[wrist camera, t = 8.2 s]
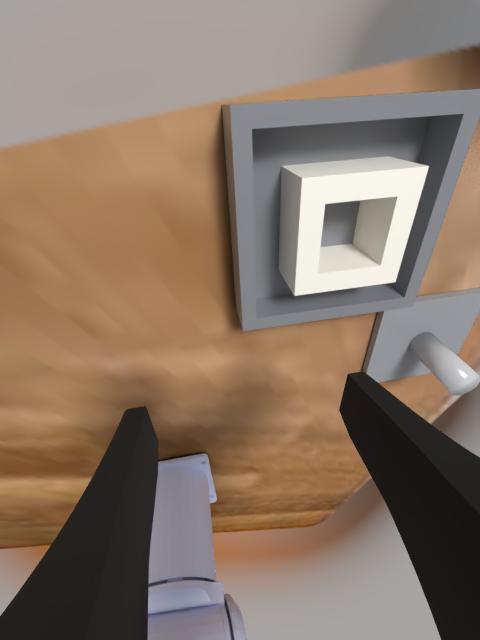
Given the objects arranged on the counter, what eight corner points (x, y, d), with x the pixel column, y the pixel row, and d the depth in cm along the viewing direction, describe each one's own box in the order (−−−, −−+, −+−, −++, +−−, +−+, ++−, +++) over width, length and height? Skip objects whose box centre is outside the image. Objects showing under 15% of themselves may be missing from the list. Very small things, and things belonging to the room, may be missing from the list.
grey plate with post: (444, 365, 27) (492, 412, 23) (359, 379, 26) (393, 431, 22) (483, 287, 22) (552, 329, 18) (380, 301, 21) (429, 348, 17)
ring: (388, 156, 15) (429, 166, 12) (366, 258, 18) (395, 282, 16) (281, 165, 14) (302, 178, 12) (278, 269, 18) (294, 295, 15)
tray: (389, 286, 20) (413, 306, 18) (235, 306, 19) (242, 331, 17) (443, 90, 14) (489, 88, 12) (221, 104, 13) (230, 105, 11)
